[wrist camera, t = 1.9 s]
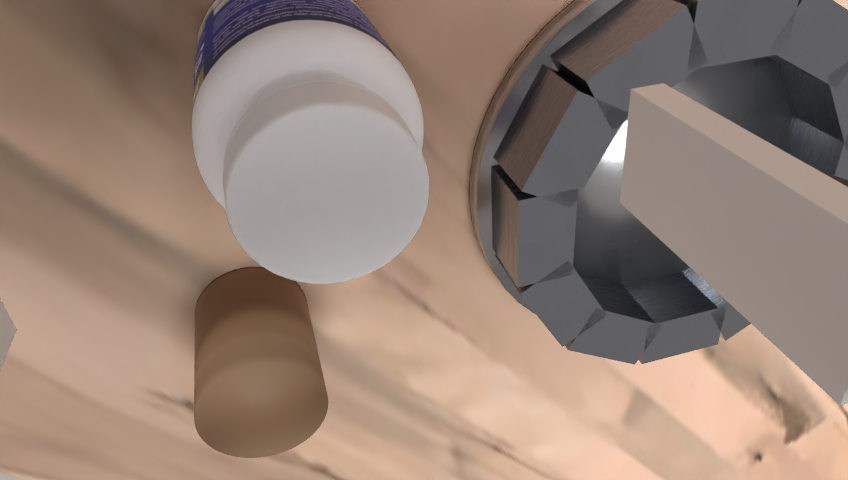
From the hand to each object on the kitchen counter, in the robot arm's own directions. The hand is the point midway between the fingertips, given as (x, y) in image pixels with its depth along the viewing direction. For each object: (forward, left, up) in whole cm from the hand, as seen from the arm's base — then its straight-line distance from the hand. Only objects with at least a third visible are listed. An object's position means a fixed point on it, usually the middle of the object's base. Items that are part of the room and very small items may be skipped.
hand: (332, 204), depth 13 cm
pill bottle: (0, 0, -9) cm, 9 cm away
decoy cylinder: (+9, -3, -8) cm, 12 cm away
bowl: (+6, +13, -8) cm, 16 cm away
